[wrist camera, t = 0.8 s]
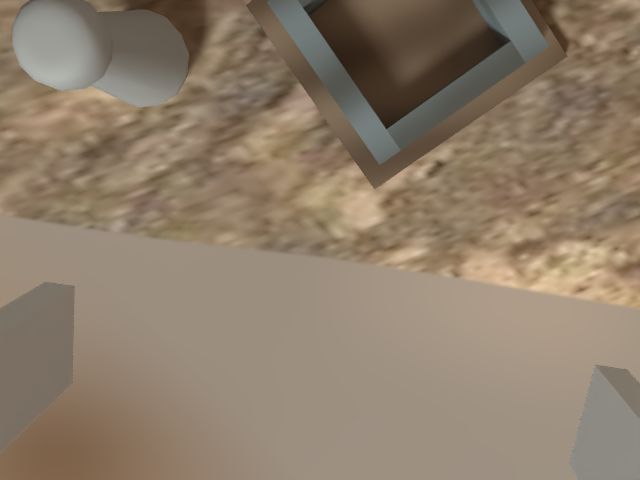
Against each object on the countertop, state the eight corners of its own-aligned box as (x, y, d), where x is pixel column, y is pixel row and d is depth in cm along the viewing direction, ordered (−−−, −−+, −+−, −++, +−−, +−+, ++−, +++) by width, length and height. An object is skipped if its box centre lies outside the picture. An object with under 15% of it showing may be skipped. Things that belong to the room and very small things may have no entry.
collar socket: (248, 7, 38) (235, -3, 34) (436, -144, 35) (442, -172, 31) (374, 187, 39) (374, 195, 36) (563, 57, 36) (582, 51, 33)
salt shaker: (168, -3, 38) (62, -59, 25) (216, 77, 39) (136, 61, 26) (97, 47, 39) (-39, 17, 26) (144, 123, 40) (35, 129, 27)
